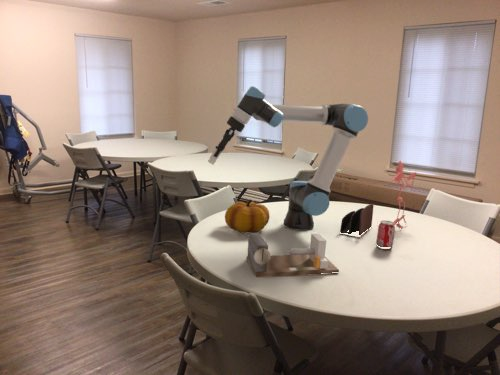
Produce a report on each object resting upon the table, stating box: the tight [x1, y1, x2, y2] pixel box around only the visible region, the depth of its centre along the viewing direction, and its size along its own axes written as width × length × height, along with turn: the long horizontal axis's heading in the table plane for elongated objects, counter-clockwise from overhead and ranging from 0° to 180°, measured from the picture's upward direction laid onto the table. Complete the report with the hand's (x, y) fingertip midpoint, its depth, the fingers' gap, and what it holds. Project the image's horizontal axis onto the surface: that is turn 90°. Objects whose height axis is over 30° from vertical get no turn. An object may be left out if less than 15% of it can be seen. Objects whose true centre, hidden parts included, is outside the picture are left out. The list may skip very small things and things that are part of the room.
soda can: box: [376, 220, 396, 248], centre depth 191 cm, size 7×7×12 cm
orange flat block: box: [314, 255, 320, 269], centre depth 160 cm, size 1×3×4 cm, turn 13°
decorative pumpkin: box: [224, 199, 270, 234], centre depth 204 cm, size 20×22×15 cm
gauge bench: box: [246, 232, 340, 278], centre depth 164 cm, size 33×16×12 cm, turn 103°
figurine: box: [388, 160, 417, 228], centre depth 224 cm, size 15×26×35 cm, turn 143°
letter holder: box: [339, 203, 374, 235], centre depth 213 cm, size 10×20×14 cm, turn 148°
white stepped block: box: [288, 233, 329, 269], centre depth 163 cm, size 12×12×10 cm
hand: (211, 161), depth 186 cm, fingers open, 13 cm apart
